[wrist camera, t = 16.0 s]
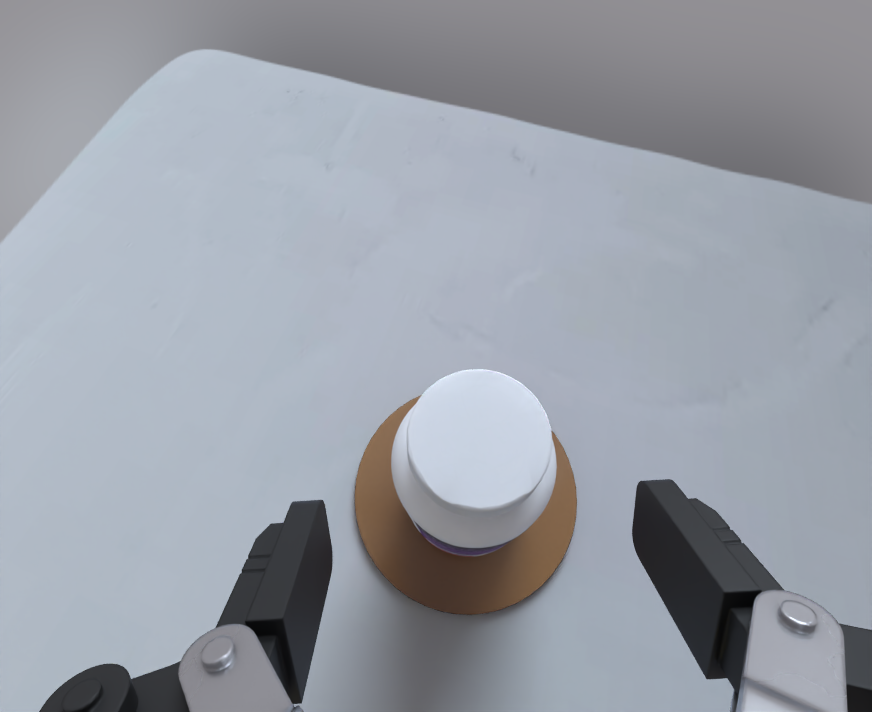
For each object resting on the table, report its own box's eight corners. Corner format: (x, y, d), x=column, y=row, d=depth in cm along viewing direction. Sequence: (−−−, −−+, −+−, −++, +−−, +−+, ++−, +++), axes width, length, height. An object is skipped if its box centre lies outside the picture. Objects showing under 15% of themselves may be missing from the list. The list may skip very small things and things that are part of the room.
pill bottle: (551, 506, 22) (623, 457, 13) (454, 584, 21) (459, 590, 12) (477, 412, 24) (494, 313, 15) (383, 479, 22) (341, 414, 14)
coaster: (575, 398, 24) (576, 396, 24) (575, 629, 20) (577, 629, 20) (375, 379, 25) (374, 376, 25) (336, 598, 21) (334, 598, 20)
